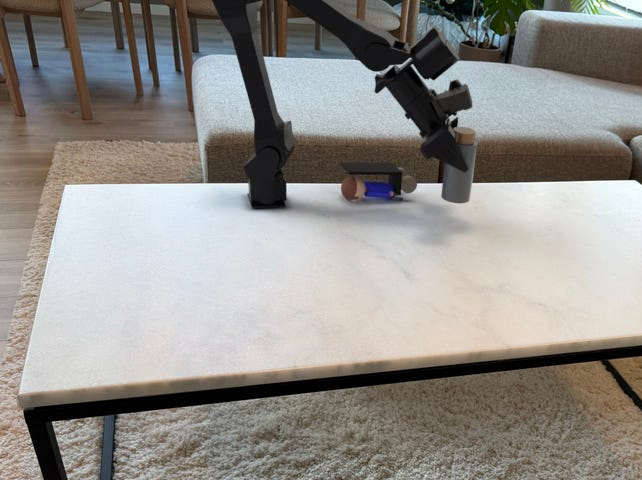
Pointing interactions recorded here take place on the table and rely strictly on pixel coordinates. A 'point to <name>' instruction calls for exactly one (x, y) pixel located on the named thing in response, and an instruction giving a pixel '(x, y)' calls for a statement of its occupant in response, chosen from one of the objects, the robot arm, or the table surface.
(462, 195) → the pepper mill
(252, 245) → the table surface
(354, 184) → the figurine character
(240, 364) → the table surface
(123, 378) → the table surface
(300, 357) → the table surface
